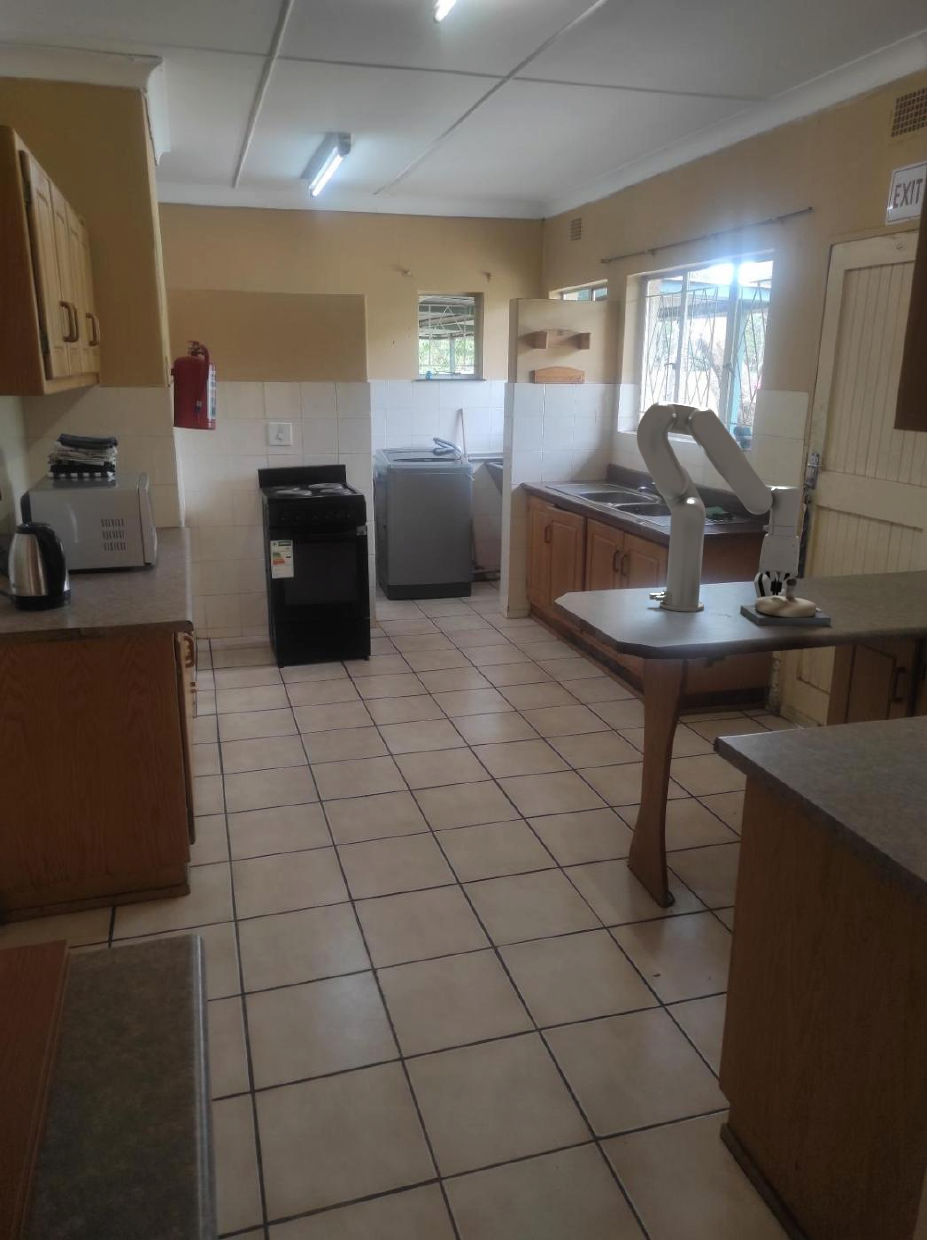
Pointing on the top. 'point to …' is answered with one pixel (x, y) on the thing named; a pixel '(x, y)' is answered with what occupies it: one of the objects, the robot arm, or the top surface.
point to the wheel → (786, 603)
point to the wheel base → (783, 618)
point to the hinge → (765, 586)
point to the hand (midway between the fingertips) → (775, 594)
